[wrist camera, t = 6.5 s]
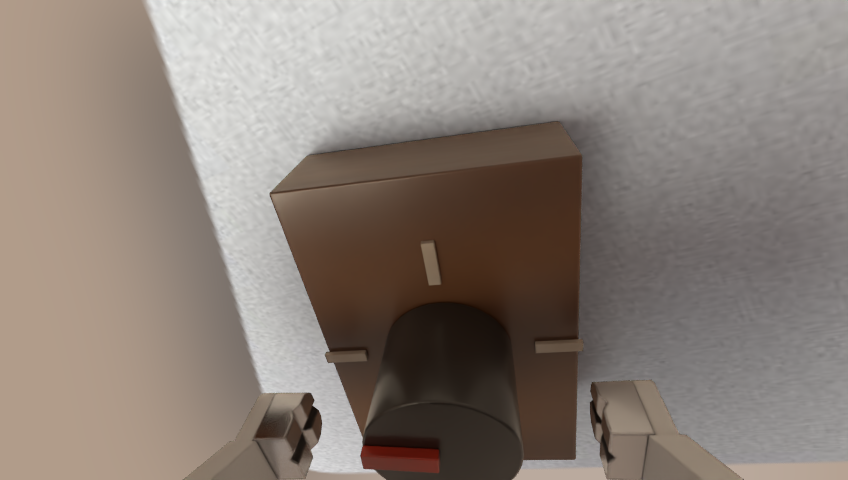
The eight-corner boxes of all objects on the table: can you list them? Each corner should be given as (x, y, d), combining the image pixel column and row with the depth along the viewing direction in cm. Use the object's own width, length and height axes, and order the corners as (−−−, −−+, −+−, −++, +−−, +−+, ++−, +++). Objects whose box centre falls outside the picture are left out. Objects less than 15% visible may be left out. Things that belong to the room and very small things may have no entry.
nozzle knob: (514, 302, 12) (530, 417, 9) (509, 395, 14) (521, 516, 11) (379, 301, 13) (346, 409, 9) (393, 390, 15) (370, 506, 11)
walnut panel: (563, 394, 18) (579, 464, 15) (382, 399, 20) (367, 464, 17) (563, 119, 12) (589, 156, 10) (303, 155, 14) (261, 196, 11)
